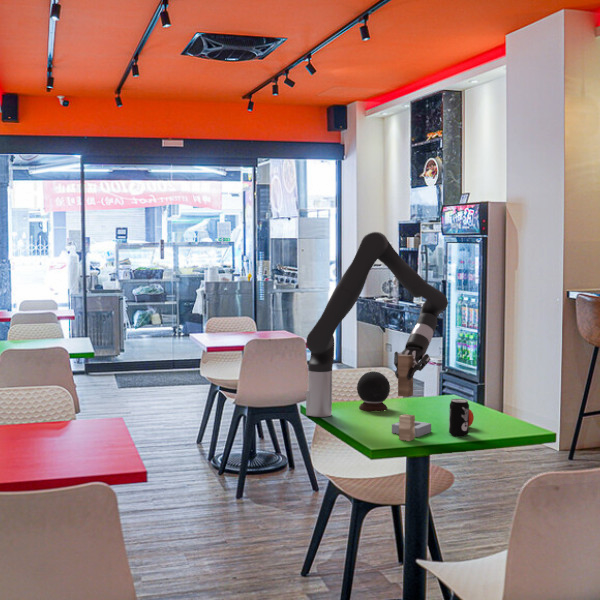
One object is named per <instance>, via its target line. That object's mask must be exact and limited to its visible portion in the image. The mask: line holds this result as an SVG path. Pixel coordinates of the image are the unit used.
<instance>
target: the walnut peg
mask: <svg viewBox="0 0 600 600" xmlns="http://www.w3.org/2000/svg"><path fill="white" fill-rule="evenodd" d="M412 360H413V355H404V354H403V355H399V356H398V379H397V397H404V398H408V397H409V398H410V397H412V396H414V377H413V378H411V380H408V378H407V374H408V372H409V369H410V368H411V364H412Z"/></svg>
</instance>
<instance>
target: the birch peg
mask: <svg viewBox="0 0 600 600" xmlns="http://www.w3.org/2000/svg"><path fill="white" fill-rule="evenodd" d="M398 417H399V420H398V422H399V434H398V440H399V439H400V441H405V440H406V441H407V442H410V441H412V440H415V437H414V436H415V421H416V415H415V414H407V413H404V414H401V415H398Z"/></svg>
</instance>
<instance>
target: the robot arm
mask: <svg viewBox="0 0 600 600" xmlns="http://www.w3.org/2000/svg"><path fill="white" fill-rule="evenodd" d="M361 239H362V240H361V241H360V244H359V246H358V248H357V250H356V254H355V256H354V257H353V259H352V261H351V263H350V265H349V266H348V268H346V270H345V272H344V273H343V275H342V277H341V278H340V280H339V281H338V283H337V285H336V286H335V288H334V290H333V292H332V294H331V296H330V298H329V300H328V301H327V304H326V306H325V308H324V310H323V312H322V314H321V316H320V318H319V319H318V321H316V324H315V325H314V326H313V327H312V329H311V330H310V331H309V333H308V334H307V337H306V341H305V342H306V347H307V349H308V350H309V352H310V357H309V358H310V359H309V361H308V363H307V364H308V365H307V389H306V393H305V394H306V396H305V402H306V403H305V415H306V416H310V417H314V418H326V417H327V418H328V417H330V416H332V415H333V414H332V413H333V412H332V411H333V409H332V408H333V365H334V361H335V360H334V359H335V336H334V333H335V332H336V330H337V328H338V326H339V325H340V323H341V322H342V321H343V320H344V319H345V317H346V316H347V315H348V314H349V313H350V311H351V310H352V309H353V308H354V306H355V304H356V303H357V301H358V299H359V297H360V295H361V294H362V292H363V290H364V287H365V284H366V281H367V278H368V275H369V273H370V272H371V269H372V268H373V266H374V265H375V263H376V262H377V260H378V261H379V262H381V263H382V264H383V265H385V266H386V268H387V269H389V271H390V272H391V273H392V274H393V276H394V277H395V279H396V280H397V281H398V282H399V283H400V284H401V285H402V287H403V288H404V289H405V290H406V291H407V292H408V293H409V294H410V295H411V296H412V297H413V298H415V299H418V298H420V297H421V298H423V299H424V300H425V301H424V302H423V304H422V306H421V308H420V311H419V312H420V313H419V317H418V319H417V320H416V324H415V326H414V327H413V328H412V330H411V331H410V334H409V337H408V339H407V340H406V341H407V342H406V343H405V346H404V349H403V350H402V351H401V352H398V351H394V355H393V357H394V358H393V365H394V366H395V368H396V370H395V373H394V376H395V378H396V379H397V380H398V356H399V355H403V354H404V355H413V360H412V364H411V368H410V369H409V372H408V374H407V378H408V380H411V378H413V379H414V375H415V373H416V372H417V371H420V372H421V371H422V370H424V368H426V366H427V365H428V364H429V362H431V360H432V359H431V357H430V356H429V354H428V353H427V351H428V348H429V346H430V343H431V341H432V339H433V336H434V333H435V330H436V328H437V325H438V317H439V316H440V314H442V312H443V311H444V310H446V309H447V307H448V305H449V304H448V303H449V301H448V298H447V296H446V295H445V294H444V293H443V292H442V291H440V290H439V289H437V288H436V287H435V286H433V285H431V284H429V283H427V282H426V280H424V278H422V276H420V274H419V273H417V271H415V269H413V267H411V266H410V265H409V264H408V263H407V262H406V261H405V260H404V258H402V257H401V256H400V255H399V253H398V252H397V251H396V250H395V249H394V247H393V246H392V245H391V243H390V241H389V240H388V239H387V237H386V235H385V234H384V233H382V232H379V231H371V232H368V233H366V234H365V235H364V236H363V237H362V238H361Z"/></svg>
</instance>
